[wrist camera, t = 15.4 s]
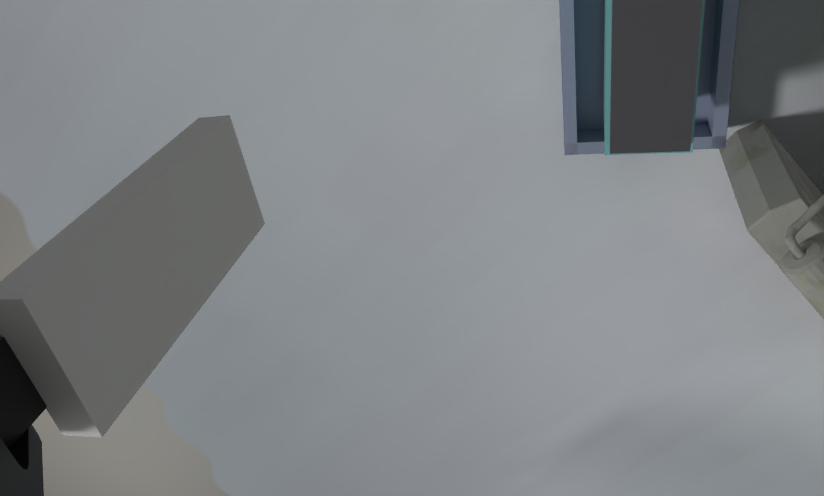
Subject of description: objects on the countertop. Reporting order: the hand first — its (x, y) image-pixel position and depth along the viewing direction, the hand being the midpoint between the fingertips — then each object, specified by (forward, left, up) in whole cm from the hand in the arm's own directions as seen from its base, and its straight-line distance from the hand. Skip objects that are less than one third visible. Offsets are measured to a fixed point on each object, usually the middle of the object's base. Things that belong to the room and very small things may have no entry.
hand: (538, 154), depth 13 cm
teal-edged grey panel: (+4, +4, -31) cm, 32 cm away
